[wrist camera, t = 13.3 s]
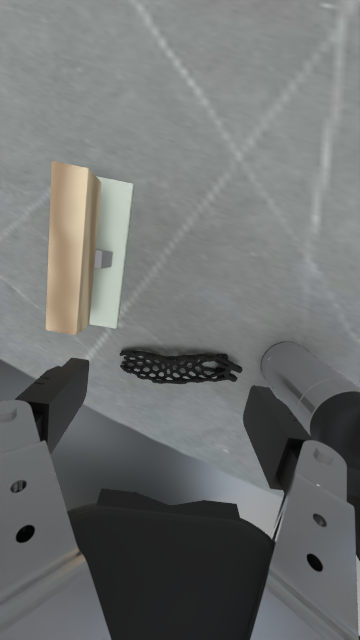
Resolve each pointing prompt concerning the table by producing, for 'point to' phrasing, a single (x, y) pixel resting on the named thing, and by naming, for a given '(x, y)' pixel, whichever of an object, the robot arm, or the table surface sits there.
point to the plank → (71, 247)
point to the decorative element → (175, 360)
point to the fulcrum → (110, 251)
